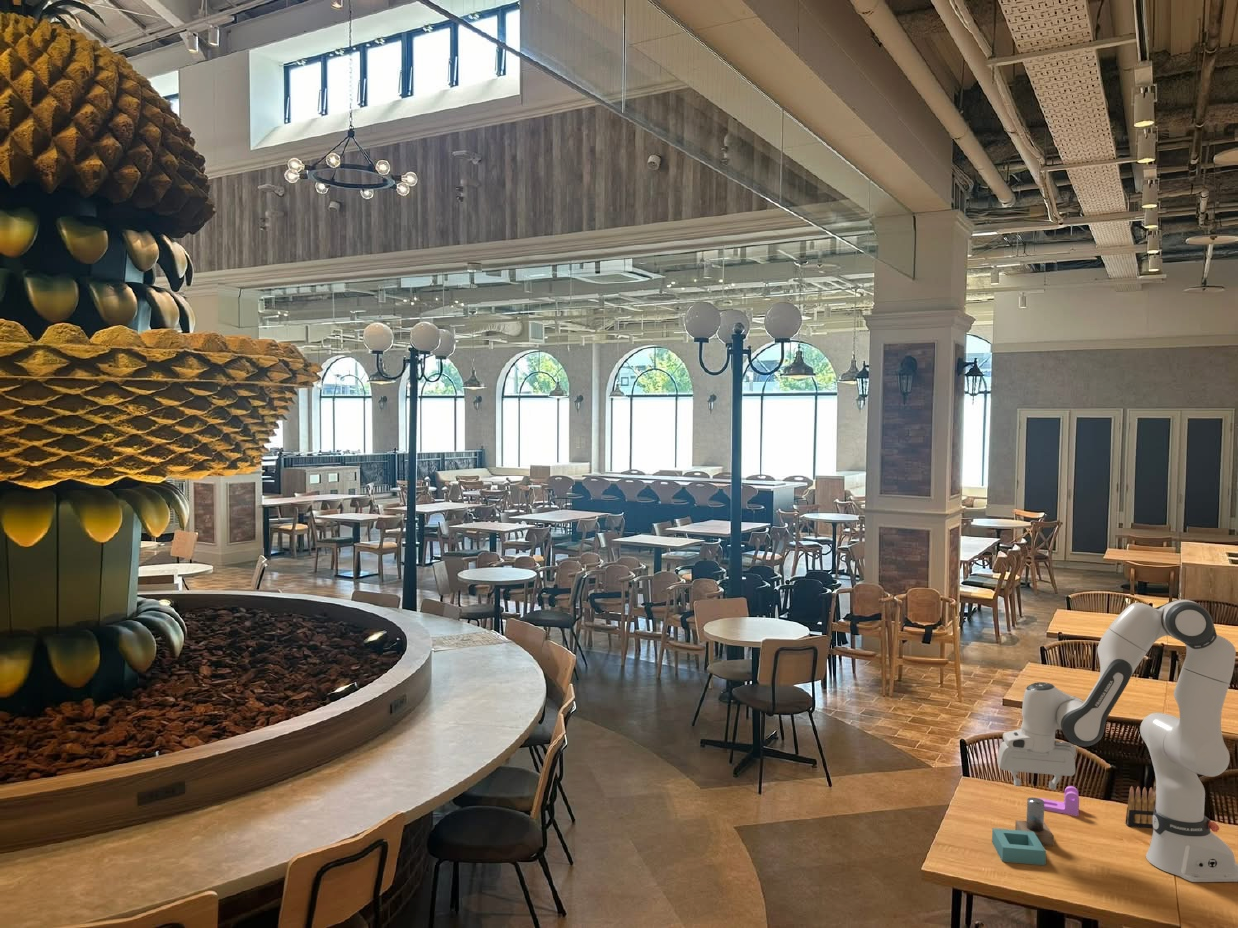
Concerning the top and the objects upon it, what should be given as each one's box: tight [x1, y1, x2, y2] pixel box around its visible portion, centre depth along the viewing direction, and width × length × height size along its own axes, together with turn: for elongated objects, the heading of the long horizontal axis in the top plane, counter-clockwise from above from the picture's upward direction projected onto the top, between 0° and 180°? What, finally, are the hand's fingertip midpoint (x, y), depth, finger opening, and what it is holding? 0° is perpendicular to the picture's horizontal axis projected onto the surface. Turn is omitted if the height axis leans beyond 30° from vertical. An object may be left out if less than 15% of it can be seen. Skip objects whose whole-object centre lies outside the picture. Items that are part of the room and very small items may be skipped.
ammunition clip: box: [1125, 785, 1156, 829], centre depth 260 cm, size 11×2×12 cm, turn 82°
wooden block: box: [1014, 820, 1055, 847], centre depth 252 cm, size 8×8×3 cm
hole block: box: [991, 827, 1047, 866], centre depth 244 cm, size 11×11×4 cm
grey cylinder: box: [1026, 797, 1045, 832], centre depth 252 cm, size 4×4×8 cm
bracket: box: [1038, 785, 1080, 817], centre depth 271 cm, size 13×6×7 cm, turn 65°
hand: (1034, 786), depth 252 cm, fingers open, 8 cm apart
